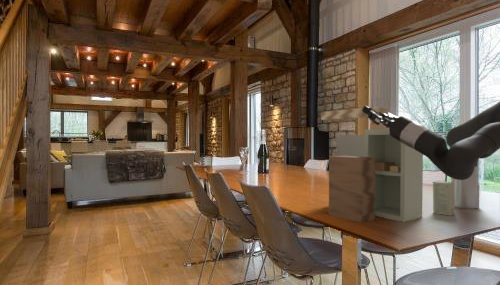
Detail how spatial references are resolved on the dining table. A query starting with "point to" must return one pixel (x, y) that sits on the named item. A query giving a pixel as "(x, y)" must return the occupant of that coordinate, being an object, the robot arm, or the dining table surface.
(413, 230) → the dining table surface
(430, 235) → the dining table surface
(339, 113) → the birch strip
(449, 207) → the skincare box
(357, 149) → the folded grey card
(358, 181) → the walnut block
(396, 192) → the rack
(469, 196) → the robot arm
